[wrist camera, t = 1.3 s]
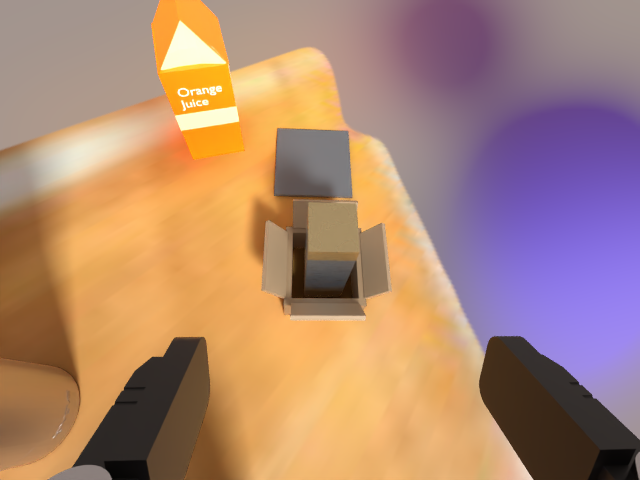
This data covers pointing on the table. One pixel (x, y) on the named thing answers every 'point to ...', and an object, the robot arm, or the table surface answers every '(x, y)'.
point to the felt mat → (313, 163)
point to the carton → (365, 276)
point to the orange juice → (196, 77)
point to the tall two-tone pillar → (330, 247)
